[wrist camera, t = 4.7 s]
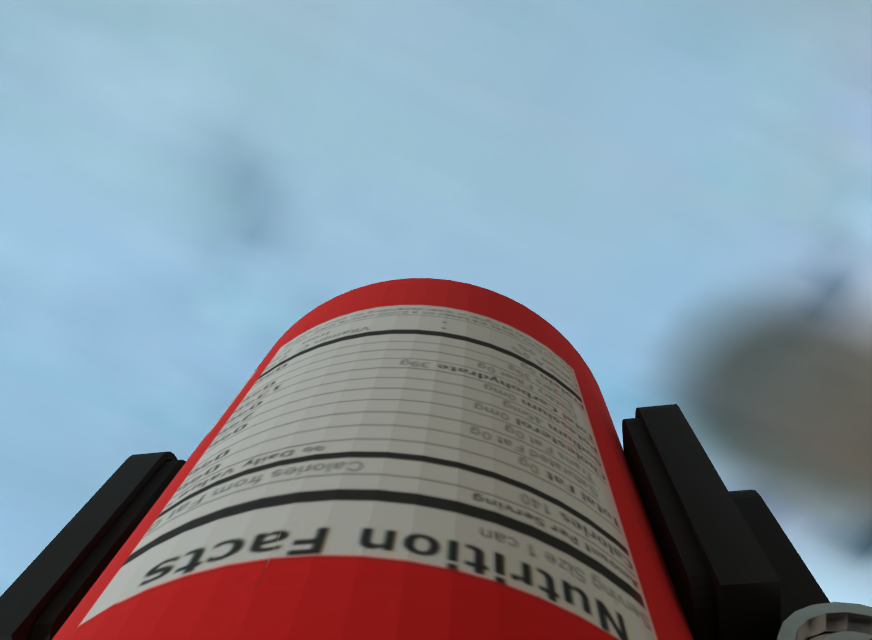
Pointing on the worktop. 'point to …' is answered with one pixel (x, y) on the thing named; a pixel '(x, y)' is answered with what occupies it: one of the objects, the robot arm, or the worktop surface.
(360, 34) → the worktop surface
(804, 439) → the worktop surface
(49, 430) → the worktop surface
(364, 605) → the beverage can
